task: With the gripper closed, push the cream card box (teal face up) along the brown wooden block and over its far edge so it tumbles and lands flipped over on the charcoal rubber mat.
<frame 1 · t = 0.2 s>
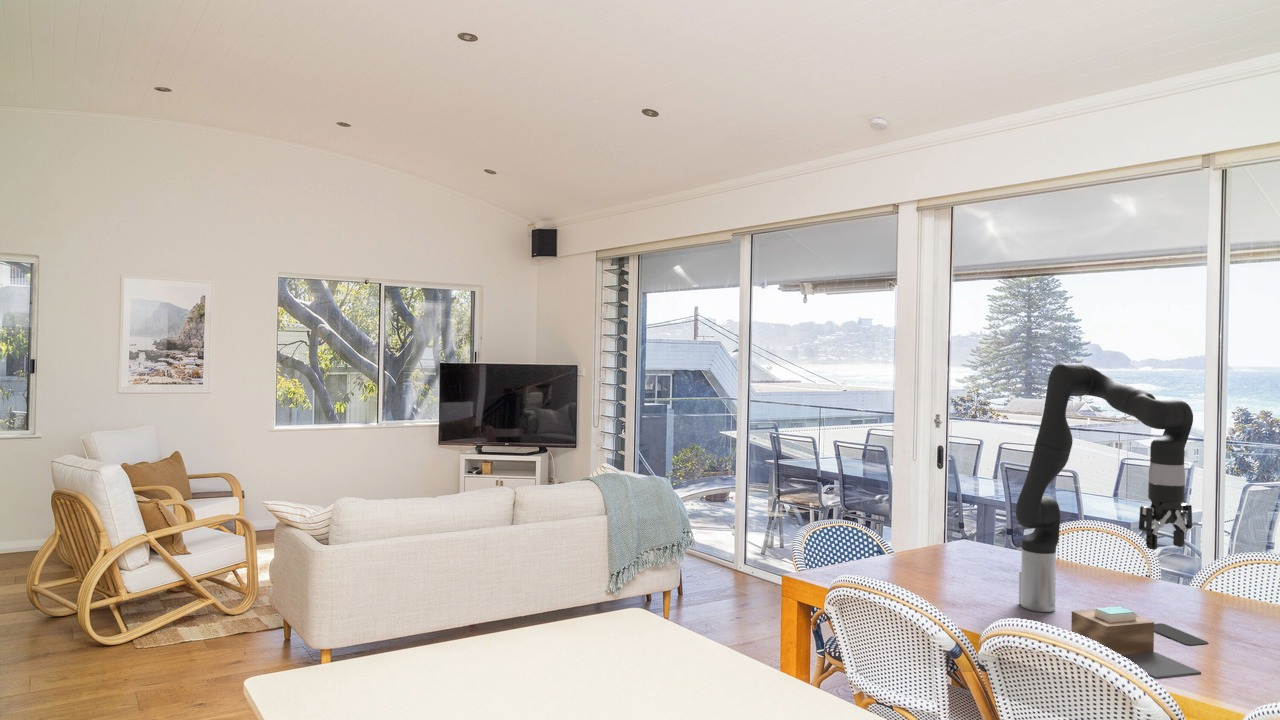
hand: (1165, 547, 200), 29 cm above the table, fingers open, 8 cm apart
rubber mat: (1155, 665, 199), on the table
brown wooden block: (1111, 647, 211), on the table
card box: (1115, 617, 210), point 8 cm above the table, touching brown wooden block
smartphone: (1174, 637, 220), on the table
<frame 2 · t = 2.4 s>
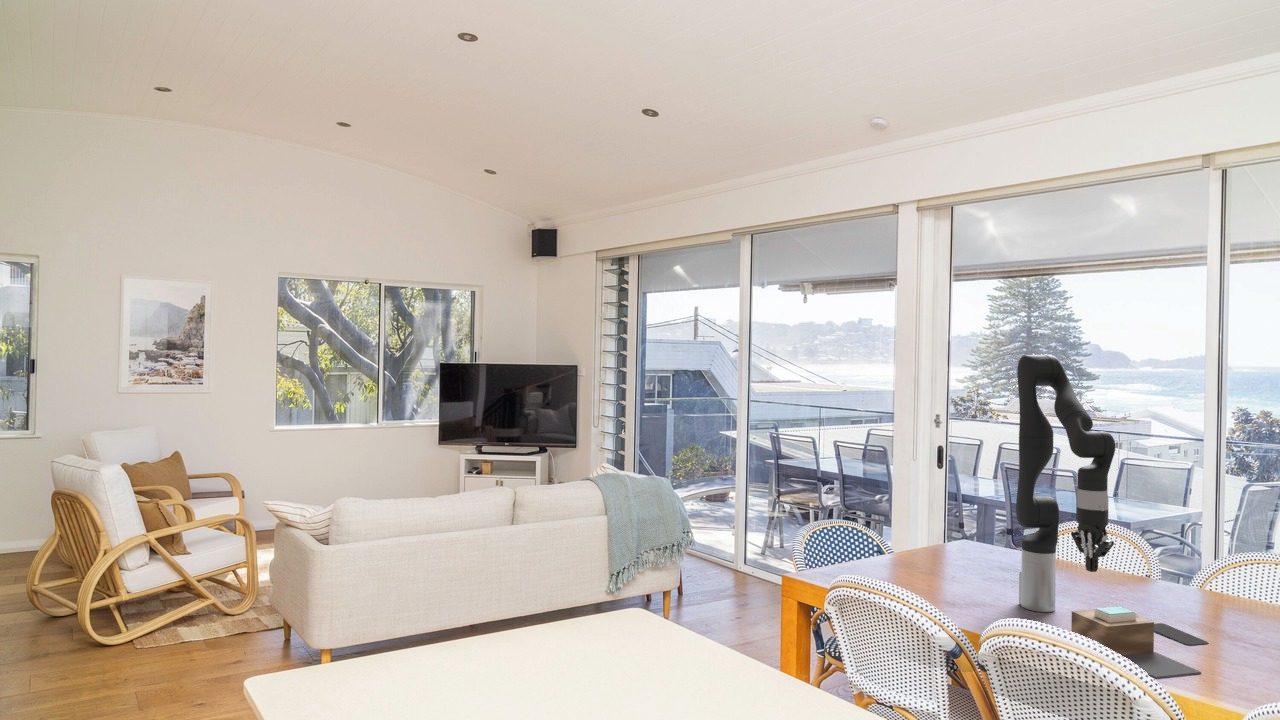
hand: (1091, 571, 217), 18 cm above the table, fingers closed
nothing on the table moved.
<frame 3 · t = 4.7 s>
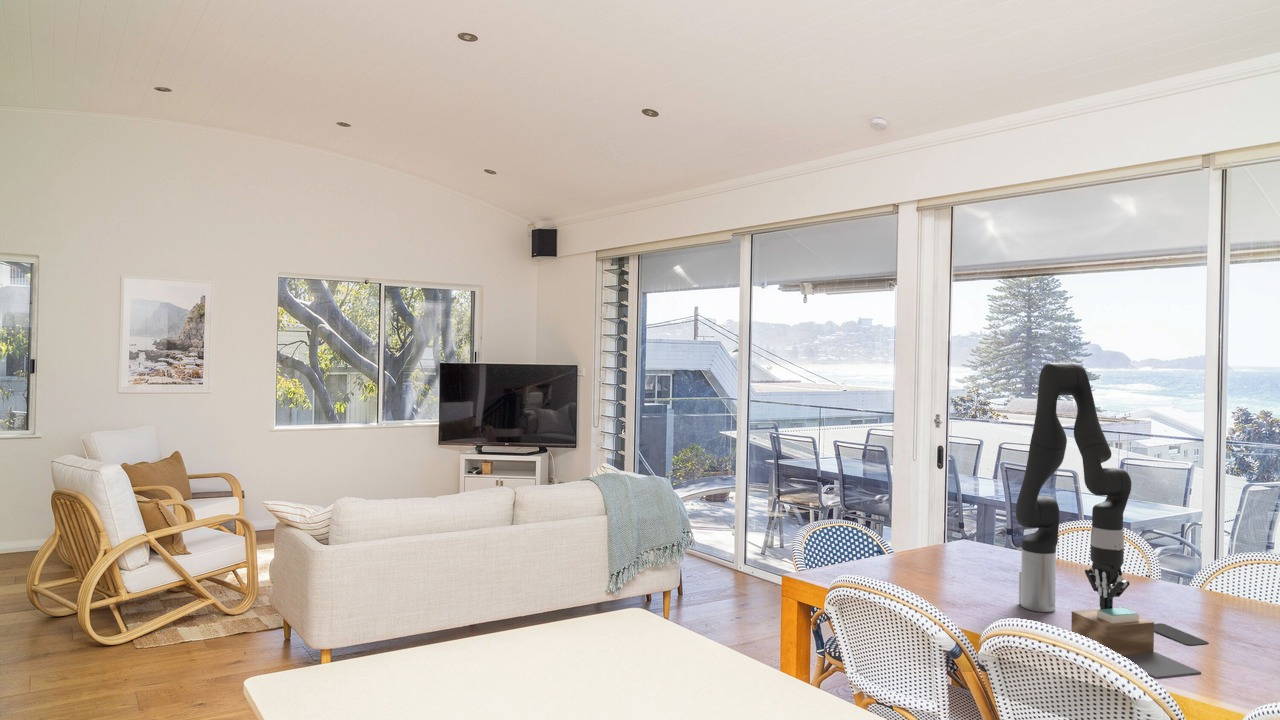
hand: (1106, 610, 213), 9 cm above the table, fingers closed
card box: (1117, 619, 209), point 8 cm above the table, touching gripper
everything else where it was.
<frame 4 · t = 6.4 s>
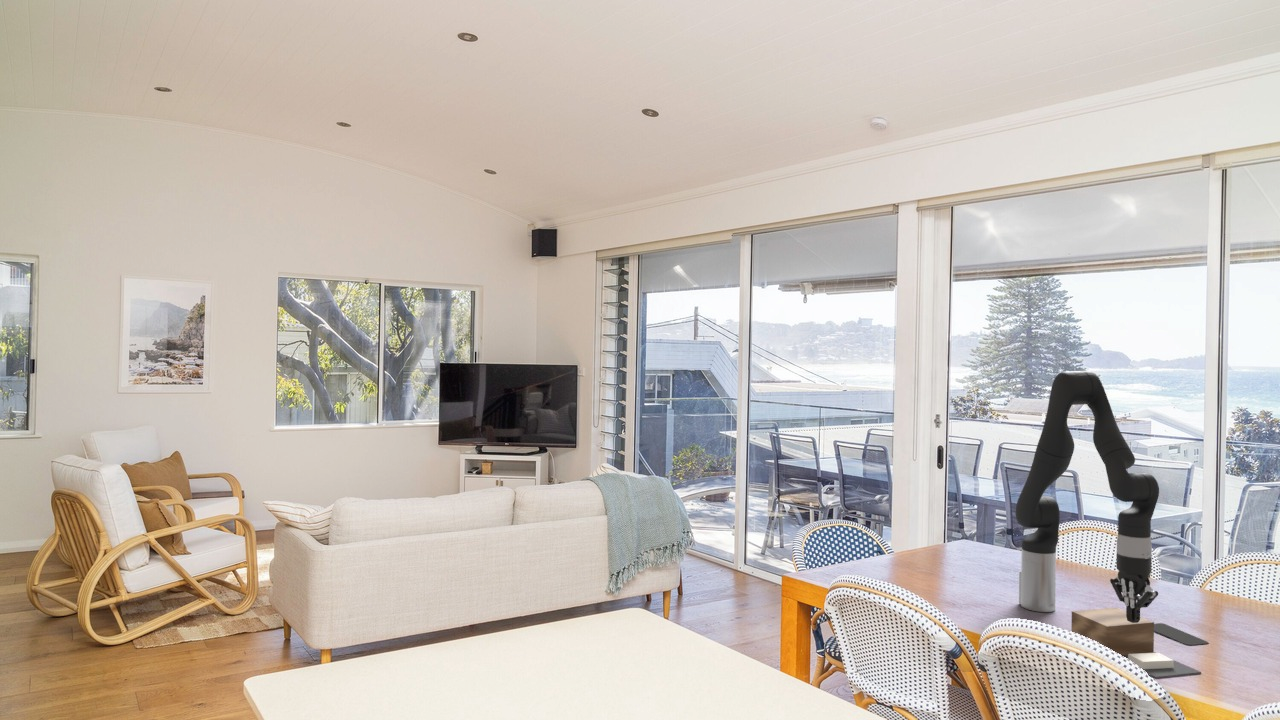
hand: (1133, 621, 204), 9 cm above the table, fingers closed
card box: (1150, 657, 198), point 2 cm above the table, tilted 180°, touching rubber mat
everything else where it was.
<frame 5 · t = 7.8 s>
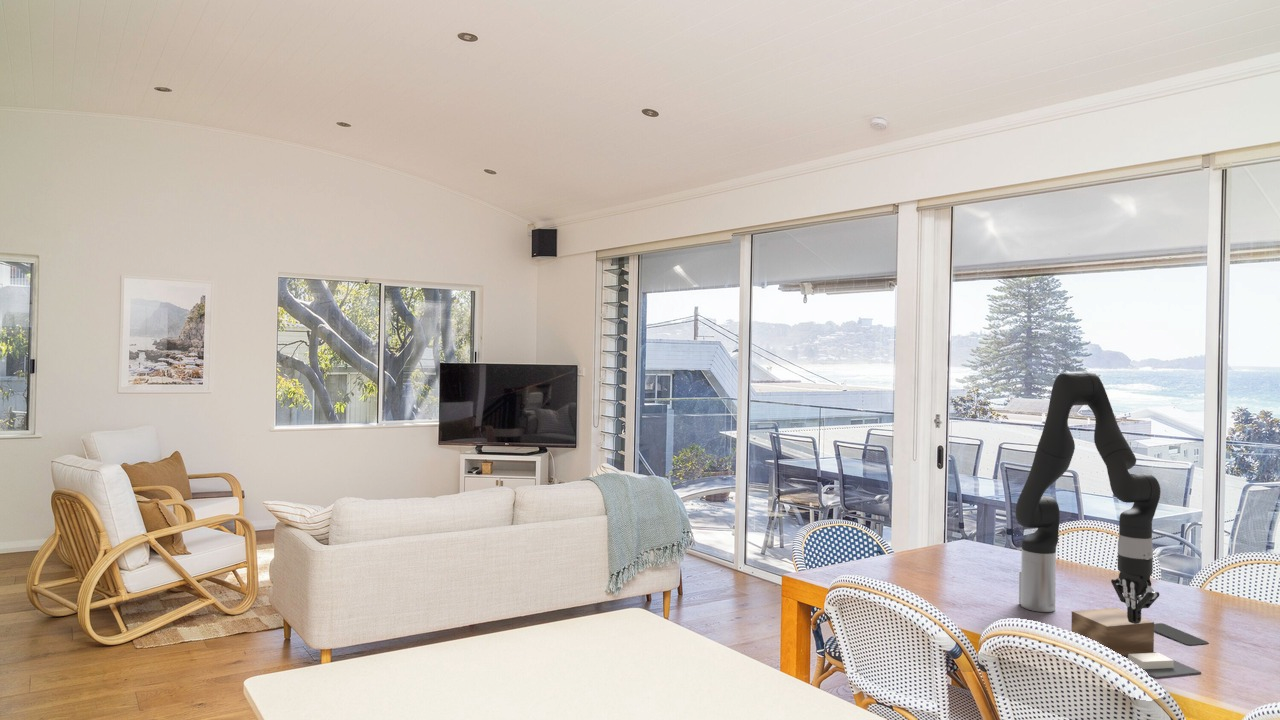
hand: (1134, 622, 204), 9 cm above the table, fingers closed
nothing on the table moved.
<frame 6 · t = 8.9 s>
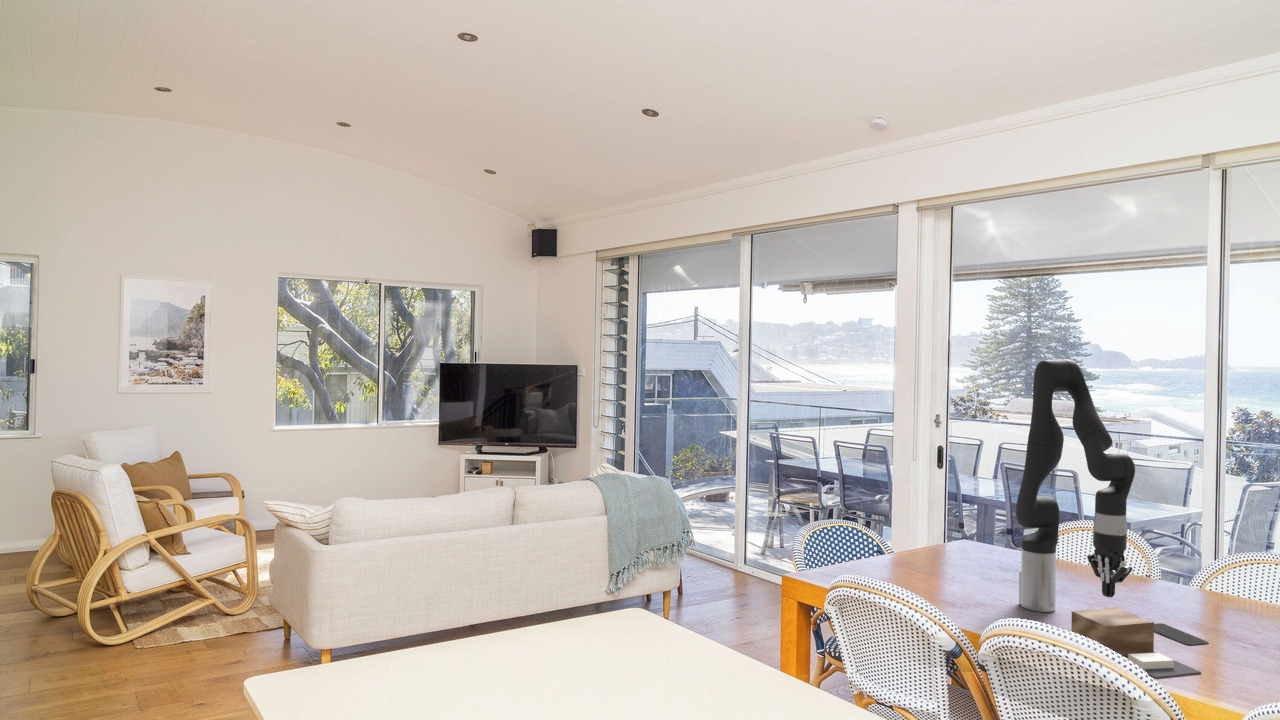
hand: (1108, 596, 212), 13 cm above the table, fingers closed
nothing on the table moved.
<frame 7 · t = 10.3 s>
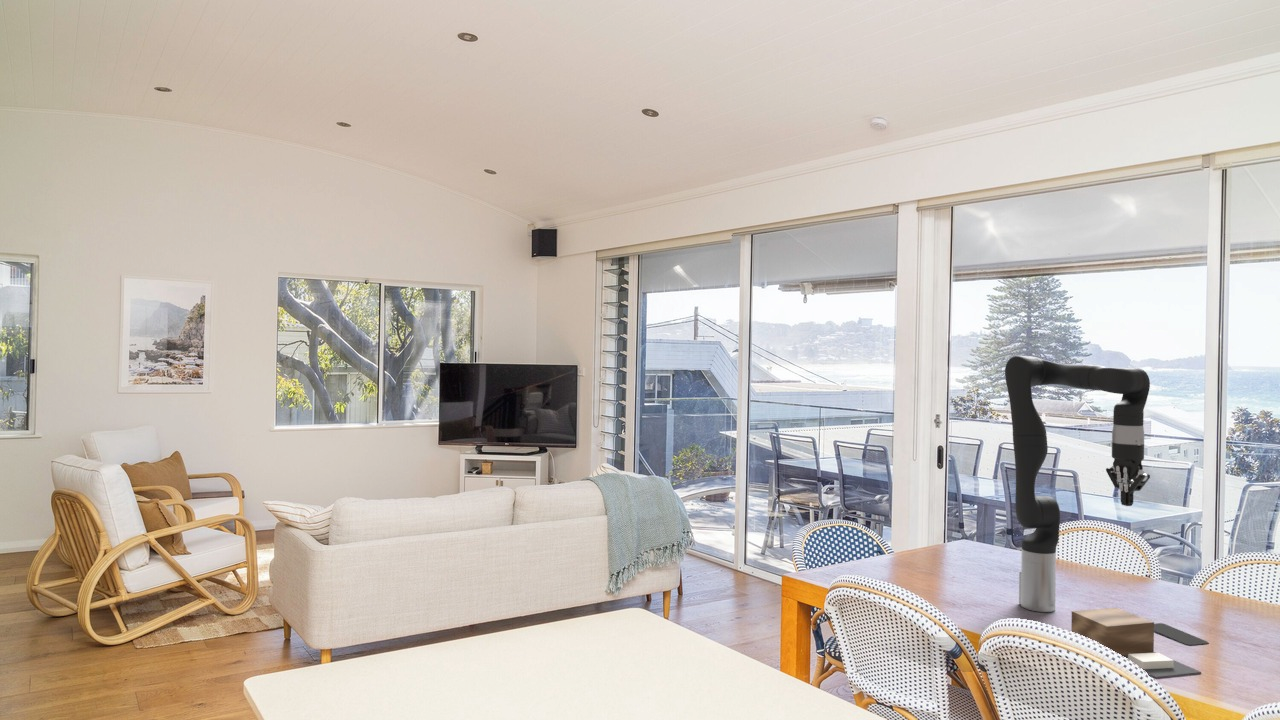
hand: (1126, 505, 221), 35 cm above the table, fingers closed
nothing on the table moved.
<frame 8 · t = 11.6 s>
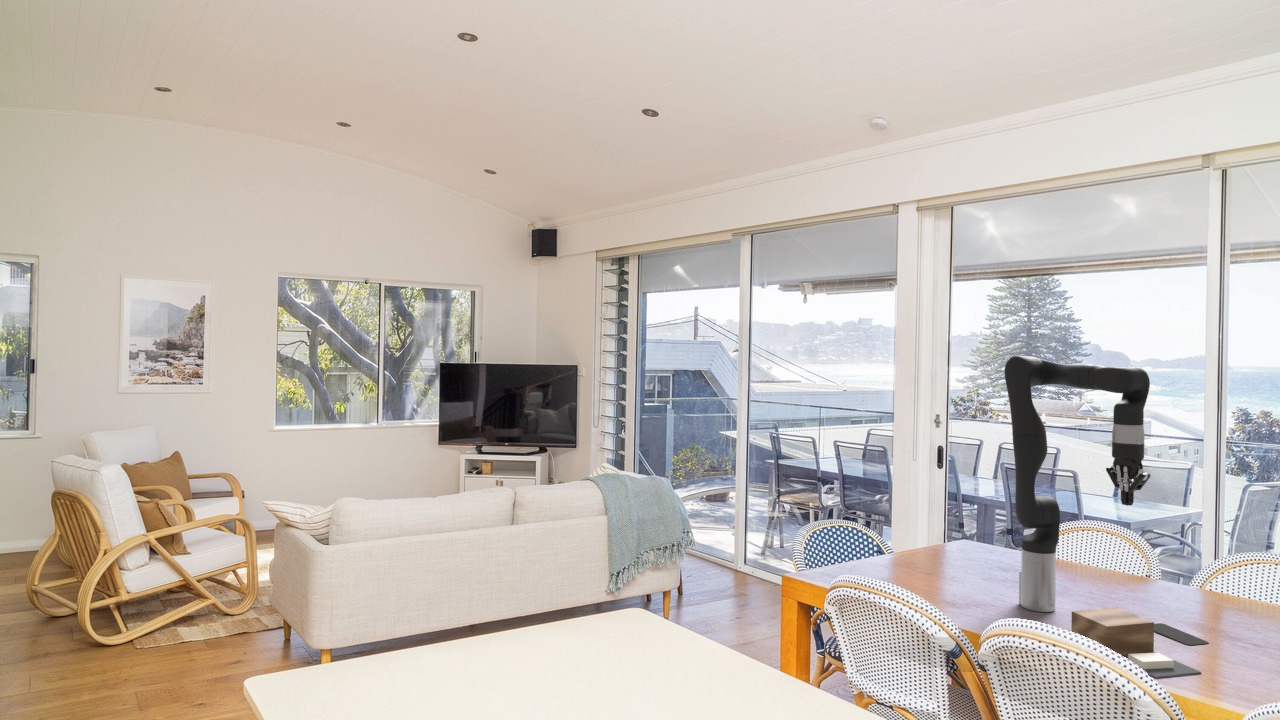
hand: (1127, 504, 221), 35 cm above the table, fingers closed
nothing on the table moved.
at the end: card box inside the target area (1.4 cm from its centre), point 2.4 cm above the table; card box tilted 180°; card box touching rubber mat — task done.
